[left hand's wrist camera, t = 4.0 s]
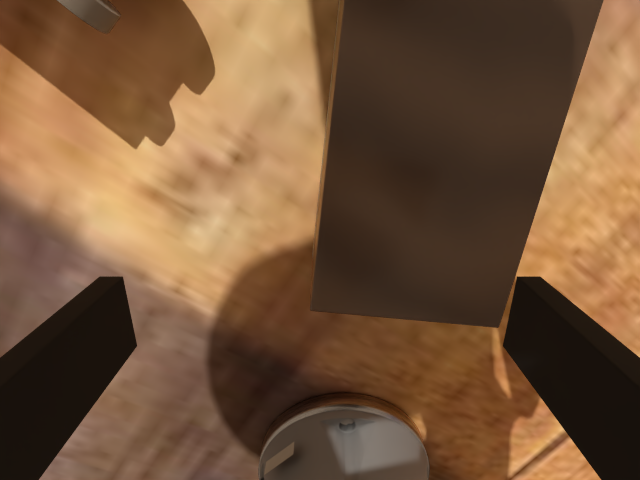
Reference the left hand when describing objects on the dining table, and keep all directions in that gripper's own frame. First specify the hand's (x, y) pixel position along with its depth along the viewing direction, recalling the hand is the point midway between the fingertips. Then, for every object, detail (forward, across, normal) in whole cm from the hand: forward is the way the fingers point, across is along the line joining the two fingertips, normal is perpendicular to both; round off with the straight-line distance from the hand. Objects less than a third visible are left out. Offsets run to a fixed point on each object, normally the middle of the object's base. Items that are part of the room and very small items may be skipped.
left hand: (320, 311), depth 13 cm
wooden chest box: (+15, -6, -4) cm, 17 cm away
